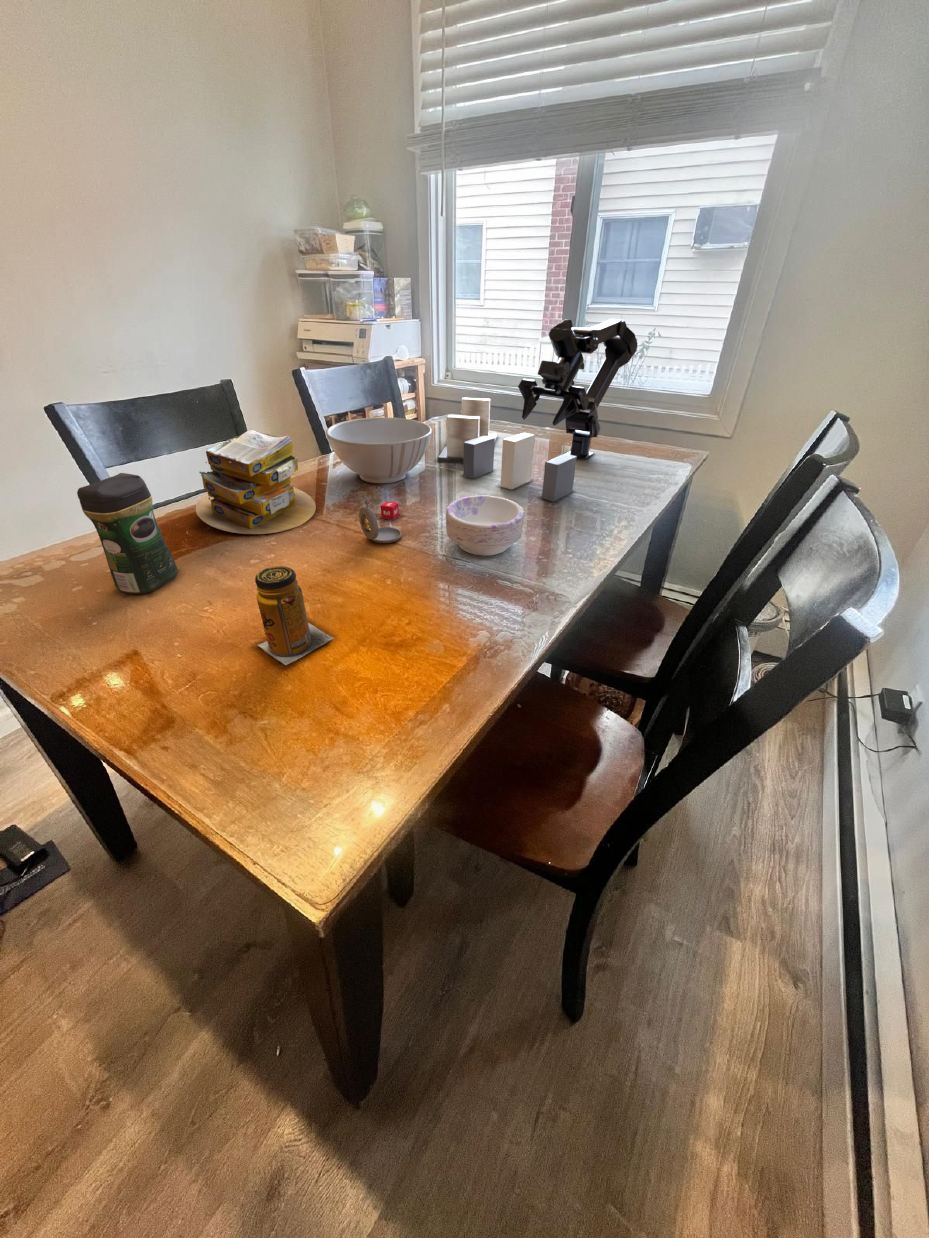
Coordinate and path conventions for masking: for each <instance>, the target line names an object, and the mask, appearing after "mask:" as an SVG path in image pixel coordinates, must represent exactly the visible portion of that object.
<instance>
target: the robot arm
mask: <svg viewBox="0 0 929 1238" xmlns="http://www.w3.org/2000/svg"><path fill="white" fill-rule="evenodd" d="M548 337H549V340H550V344H551V346H552V348H553V349H552V350H553V351H554V354H555V356H556V357H557V358H559V359H558V361H557V362H556V361H550V360H541V361H540V364H539V368H538V370H537V375H538V376H540V377H541V378H542V380H541V382H542V384H543V385H544V386H539V385H538V383H537V381H536V380H535V379H528V378H522V379H521V380H520V381H519V383H518V385H517V388H518V389H519V392H520V394H521V396H522V398H523V407H522V408H523V409H522V414H521V418H522V420H523V421H525V420H526V419H527V418H528V417H529V416H530V414H531V413H532V412H533V410H534V409H535V407H536V406H537V402H538V401H539V400H540V397H547V398H551V399H554V400H559V401H562V403H561V405H560V407H559V409H558V411H557V412H556V414H555V416H554V418H553V420H552V426H557V425H558V424H560V423H562V422H563V421H565V433H566V434H571V442H570V443H571V444H570V450H569V451H568V452H566V453H565V454H569V455H573V456H577V459H583V460H585V459H588V458H590V457H591V456H592V455H594V452H593V451H591V445H592V439H593V438H598V436H599V434H600V431H601V426H600V423H599V420H598V419H599V411H598V408H599V406H600V404H601V403H602V400H603V398H605V395H606V393H607V391H608V390H609V387H610V385H612V382H613V381H614V378H615V377H616V375H617V373H618V372H619V370H620V368H622V367H623V366H625V365H627V364H628V363H629V362H630V361H631V360H632V358H633V357H634V355H635V354H636V352H637V350H638V340H637V337H636V334H635V333H634V331H633V330H631V329H630V328H629V327H628V325H627V323H626V321H625V320H623V319H615V318H610V319H606V320H605V321H603V322H601V323H599V324H596V325H593V326H591V327H574V325H573V321H572V319H563V320H562V322H560V323H557V324H556V325H554V326H553V327H551V329H549V333H548ZM602 343H603V346H604V355H605V356H604V357H605V359H604V360H603V362H602V364H601V366H600V368H599V370H598V371H597V373H596V375H595V377H594V379H592V382H591V384H590V386H589V387H588V389H587V391H586V389H585V387H582V386H576V385H575V381H574V380H575V377H576V376H577V374H578V372H579V370H582V371H584V370H585V362H584V361H585V358H584V355H583V354H587V355H591V354H593V353H594V352H596V351H597V350H598V349H599V345H600V344H602Z"/></svg>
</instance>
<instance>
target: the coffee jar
mask: <svg viewBox="0 0 929 1238" xmlns="http://www.w3.org/2000/svg"><path fill="white" fill-rule="evenodd" d="M76 495H77V499H78V500H79V504H80V507H81V510H82V512H83V514H84V515H85V516H86V517H87V519H89V520H90V521H91V523H92V524H93V526H94V528H95V530H96V532H97V534H98V535H97V536H99V537H98V538H99V541H100V544H101V546H102V549H103V552H104V555H105V558H106V562H107V565H108V569H109V572H110V576H111V578H112V581H113V584H114V586H115V588H116V589H117V590H119V591H120V592H123V593H125V594H129V595H139V594H141V595H142V594H148V593H151V592H153V591H155V590H157V589H159V588H161V587H163V586H164V585H166V584H167V583H169V582H170V581H171V580H173V579H175V578H176V577H177V575H178V573H179V568H178V566H177V564H176V563H177V562H176V561H175V559H174V556H173V555H172V553H171V550H170V549H169V546H168V545H167V542H166V540H165V538H164V535H163V533H162V531H161V529H160V527H159V525H158V522H157V519H156V516H155V513H154V508H153V496H152V494H151V492H150V490H149V488H148V486H147V484H146V481H145V480H144V479H143V478H142V477H141V476H140V475H138V474H133V473H126V472H119V473H118V474H115V475H113V476H110V477H107V478H104V479H101V480H99V481H96V482H94V483H91V484H88V485H85V486H81V487H78V489H77V491H76Z"/></svg>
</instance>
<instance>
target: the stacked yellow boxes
mask: <svg viewBox="0 0 929 1238" xmlns="http://www.w3.org/2000/svg"><path fill="white" fill-rule="evenodd" d="M205 450H206V451H205V455H206V459H207V461H205V462H204V463H205V464H207V463H208V465H209V467H210V471H207V472H206V471H199V472H198V474H199V475H200V476H201V481H202V486H203V490H206V493H204V494H203V495H202V496H201V497H199V498H198V500H197V502H196V504H195V513H196V515H197V517H198V518H199V519H200V520H201V521H202V522H203V523H205V524H207V525H209V526H210V527H212V528H215V529H218V530H221V531H225V532H229V533H236V534H242V535H265V534H266V535H267V534H273V533H275V534H276V533H280V532H284V531H285V532H286V531H288V530H292V529H295V528H297V527H300V526H302V525H303V524H305V523H306V522H307V521H309V520H310V519H311V518H313V516H314V514H315V512H316V509H317V505H316V502H315V500H314V499H313V498H312V497H311V496H310V494H308V493H307V492H305V491H303V490H301V489H298V488H297V487H294V486H292V485H291V483H292V476H293V475H294V474H295V472H297V471H298V470H299V463H298V458H297V456H293V455H294V453H295V451H294V441H293V440H292V439H291V437H290V436H289V435H284V436H277V435H273V434H269V433H263V432H262V431H256V430H253V429H248V430H246V432H244V433H242V434H240V435H236V436H234V437H232V438H229V439H228V438H227V439H226V440H225V441H224V442H223V443H219V444H217V445H215V446H213V447H210V448H206V449H205Z"/></svg>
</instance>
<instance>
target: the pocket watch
mask: <svg viewBox="0 0 929 1238" xmlns="http://www.w3.org/2000/svg"><path fill="white" fill-rule="evenodd" d="M361 497H362V500H363V501H364V504H365V505H364V506H362V507H360V509H359V511H358V521H359V526H360V528H361V530H362V533H363V534H364V536H365V538H367V539H369V540H371V541H372V542H374V543H378V544H389V543H394V542H397V541H398V540H400V539H401V538H402V531H401V529H399V528H396V527H392V526H382V527H379V523H378V519H377V517H376V514H375V512H374V511H373V509H372V508H371V507H370V503H371V501H370V499H369V498H368V497H367V496H366V495H364V494H362V495H361Z"/></svg>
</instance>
